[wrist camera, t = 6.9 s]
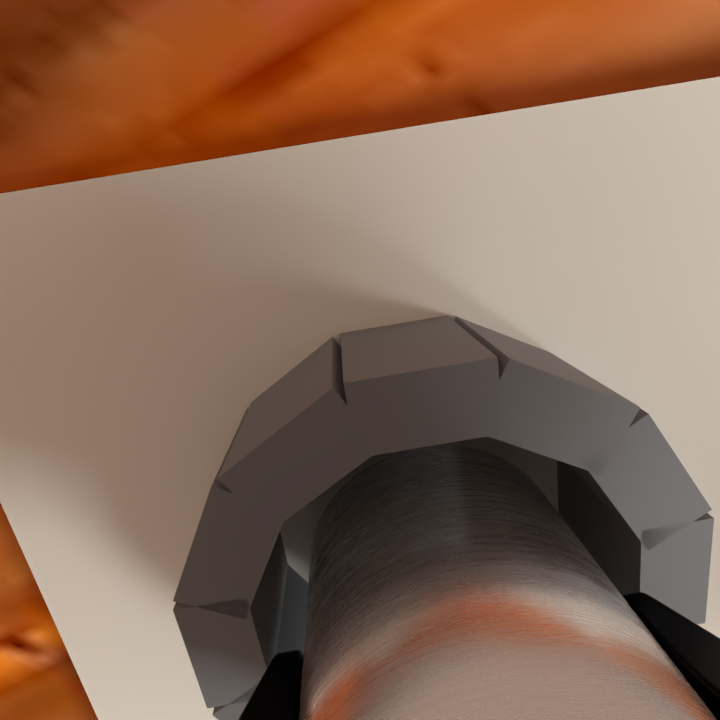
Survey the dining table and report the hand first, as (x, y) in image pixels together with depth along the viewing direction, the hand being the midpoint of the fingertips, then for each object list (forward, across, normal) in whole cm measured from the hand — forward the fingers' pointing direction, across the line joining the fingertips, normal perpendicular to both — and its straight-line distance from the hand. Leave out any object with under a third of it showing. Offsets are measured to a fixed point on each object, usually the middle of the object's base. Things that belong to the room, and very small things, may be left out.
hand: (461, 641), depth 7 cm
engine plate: (+5, -2, 0) cm, 5 cm away
